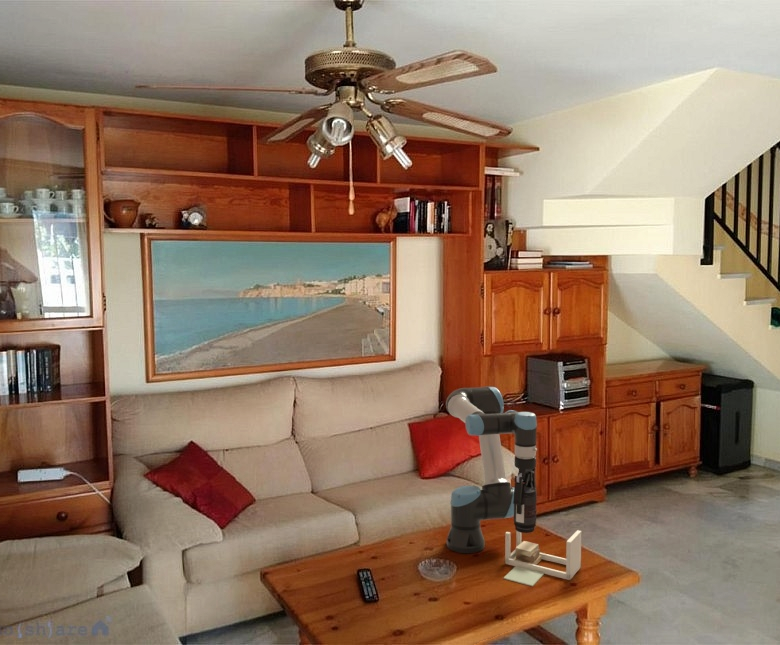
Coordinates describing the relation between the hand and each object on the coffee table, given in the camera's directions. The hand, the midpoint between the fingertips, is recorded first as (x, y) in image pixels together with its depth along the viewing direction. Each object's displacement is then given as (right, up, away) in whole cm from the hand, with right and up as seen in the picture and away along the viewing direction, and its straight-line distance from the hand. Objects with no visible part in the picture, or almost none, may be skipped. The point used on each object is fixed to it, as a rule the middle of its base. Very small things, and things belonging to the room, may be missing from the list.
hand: (524, 517), depth 250 cm
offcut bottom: (+4, -21, +14) cm, 26 cm away
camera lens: (0, -4, 0) cm, 4 cm away
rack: (+9, -21, +11) cm, 25 cm away
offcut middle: (+4, -19, +14) cm, 24 cm away
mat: (0, -22, +2) cm, 22 cm away
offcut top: (+4, -16, +14) cm, 22 cm away
